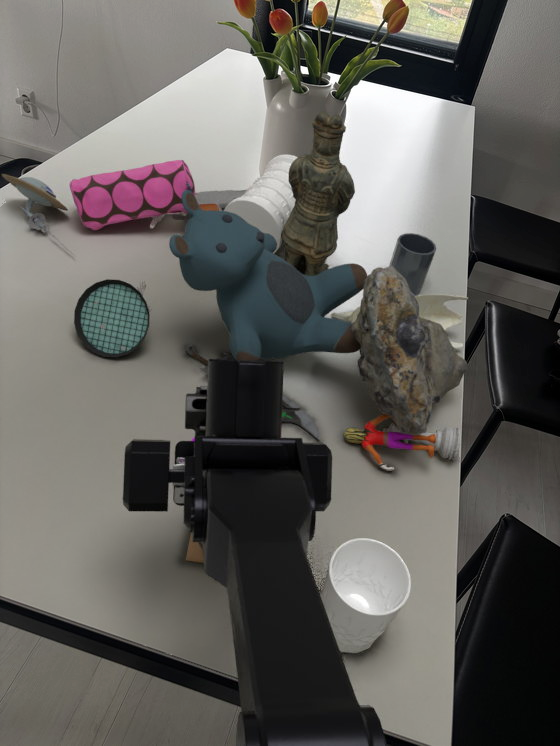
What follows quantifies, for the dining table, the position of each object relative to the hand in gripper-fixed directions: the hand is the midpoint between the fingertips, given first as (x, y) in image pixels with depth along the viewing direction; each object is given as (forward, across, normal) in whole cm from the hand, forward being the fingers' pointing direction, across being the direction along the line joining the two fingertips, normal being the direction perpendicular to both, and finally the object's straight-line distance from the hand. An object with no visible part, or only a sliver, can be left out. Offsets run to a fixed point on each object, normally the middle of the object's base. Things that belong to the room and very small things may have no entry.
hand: (222, 464), depth 64 cm
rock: (+15, -18, -12) cm, 27 cm away
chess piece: (+13, -33, -1) cm, 35 cm away
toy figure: (+14, -24, -1) cm, 28 cm away
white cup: (-1, -14, +16) cm, 21 cm away
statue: (+43, -17, -28) cm, 54 cm away
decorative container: (+42, -7, -36) cm, 55 cm away
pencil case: (+46, +15, -47) cm, 67 cm away
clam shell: (+29, -29, -26) cm, 49 cm away
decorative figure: (+57, +25, -43) cm, 76 cm away
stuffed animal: (+26, -16, -18) cm, 35 cm away
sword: (+24, -8, -10) cm, 27 cm away
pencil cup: (+43, -35, -28) cm, 62 cm away
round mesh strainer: (+25, +14, -18) cm, 34 cm away
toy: (+48, +31, -33) cm, 66 cm away
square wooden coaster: (+6, -1, +9) cm, 11 cm away
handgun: (+49, -9, -37) cm, 62 cm away
